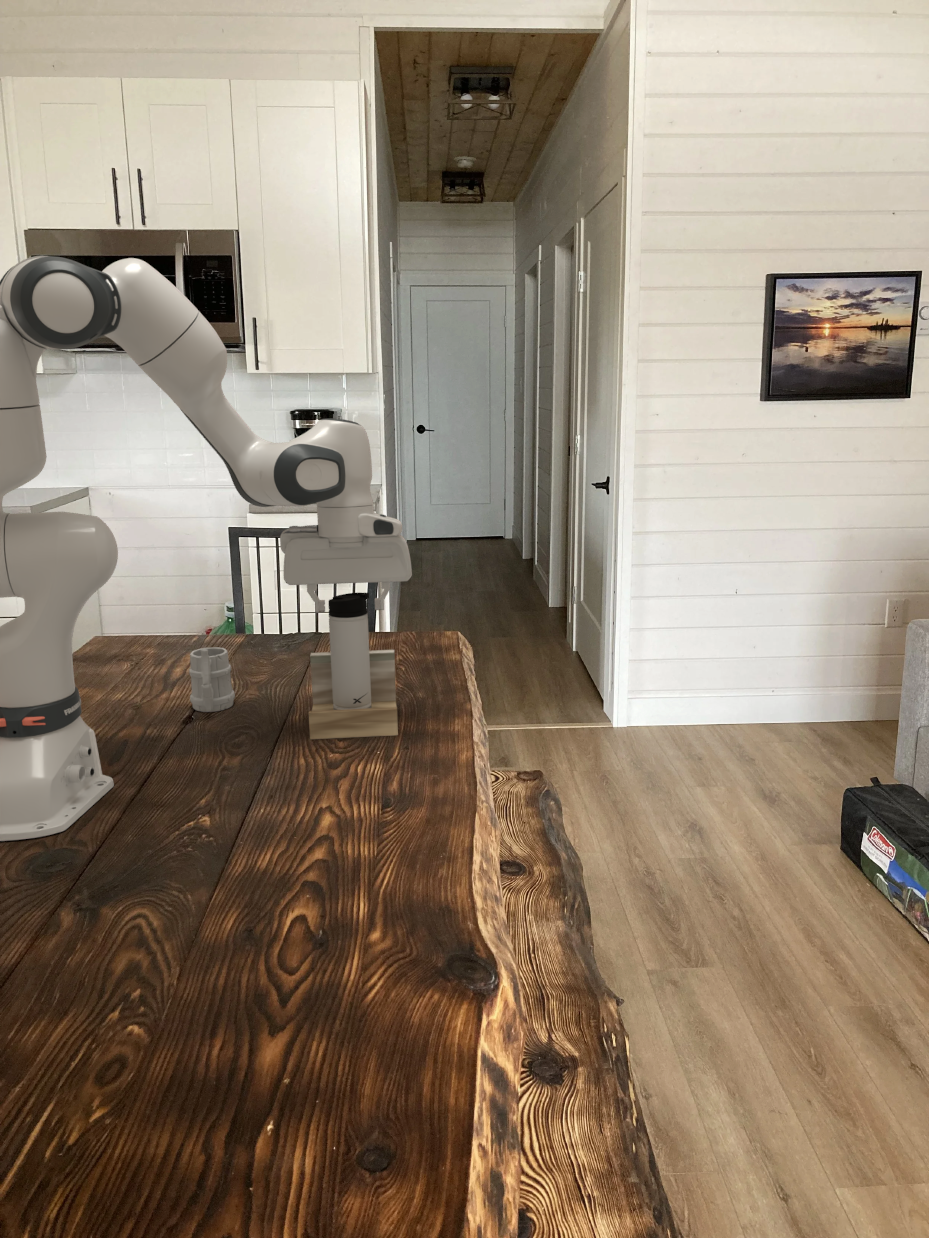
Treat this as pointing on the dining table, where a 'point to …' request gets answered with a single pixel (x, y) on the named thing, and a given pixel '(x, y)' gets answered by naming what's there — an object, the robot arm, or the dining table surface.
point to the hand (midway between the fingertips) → (350, 610)
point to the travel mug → (350, 651)
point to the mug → (210, 680)
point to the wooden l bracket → (354, 720)
